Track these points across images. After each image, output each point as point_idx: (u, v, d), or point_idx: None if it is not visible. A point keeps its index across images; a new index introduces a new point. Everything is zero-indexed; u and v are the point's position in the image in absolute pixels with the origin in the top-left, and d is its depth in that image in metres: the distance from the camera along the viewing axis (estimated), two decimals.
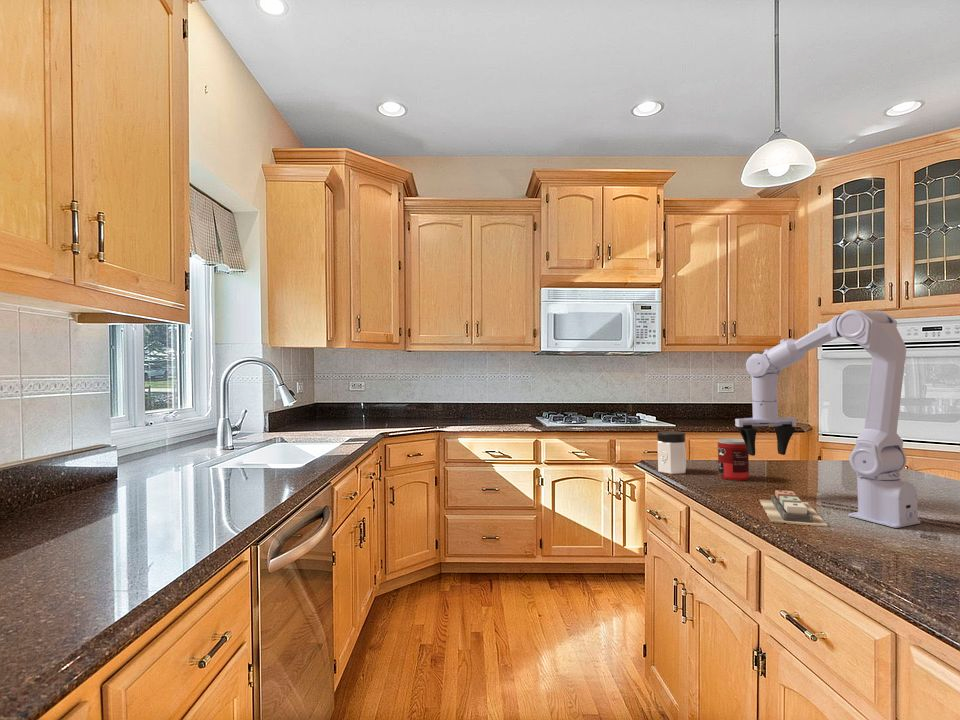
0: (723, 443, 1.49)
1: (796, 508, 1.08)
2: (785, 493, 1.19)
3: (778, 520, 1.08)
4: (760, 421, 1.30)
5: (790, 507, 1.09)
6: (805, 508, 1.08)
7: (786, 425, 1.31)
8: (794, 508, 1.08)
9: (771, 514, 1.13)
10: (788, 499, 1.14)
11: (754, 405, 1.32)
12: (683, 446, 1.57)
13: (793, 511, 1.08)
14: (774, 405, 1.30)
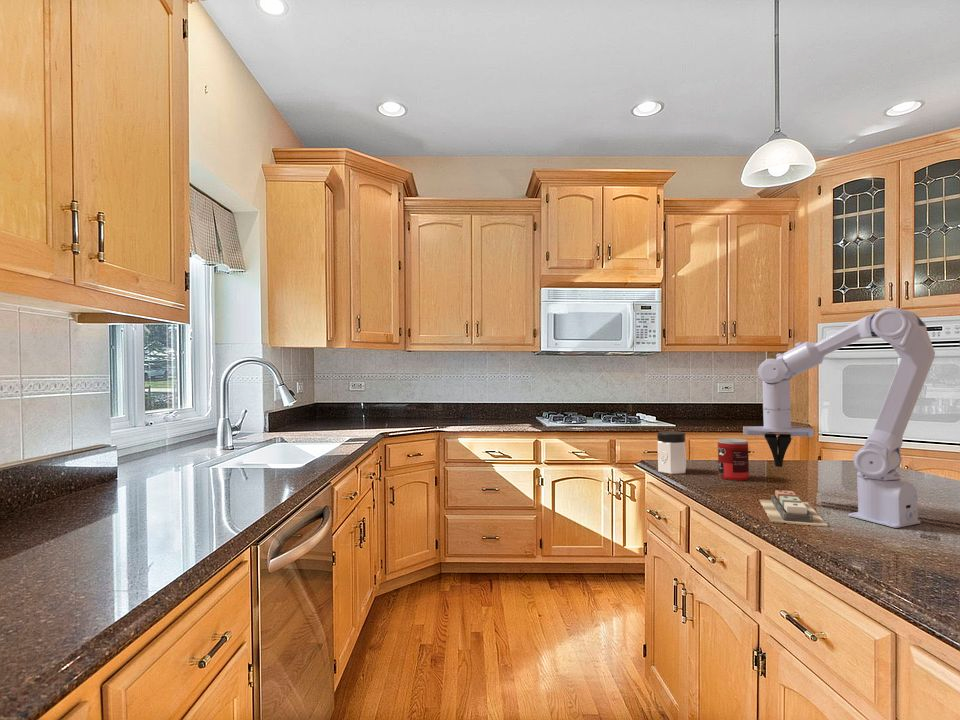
0: (723, 443, 1.49)
1: (796, 508, 1.08)
2: (785, 493, 1.19)
3: (778, 520, 1.08)
4: (766, 430, 1.23)
5: (790, 507, 1.09)
6: (805, 508, 1.08)
7: None
8: (794, 508, 1.08)
9: (771, 514, 1.13)
10: (788, 499, 1.14)
11: (763, 413, 1.25)
12: (683, 446, 1.57)
13: (793, 511, 1.08)
14: (782, 414, 1.21)
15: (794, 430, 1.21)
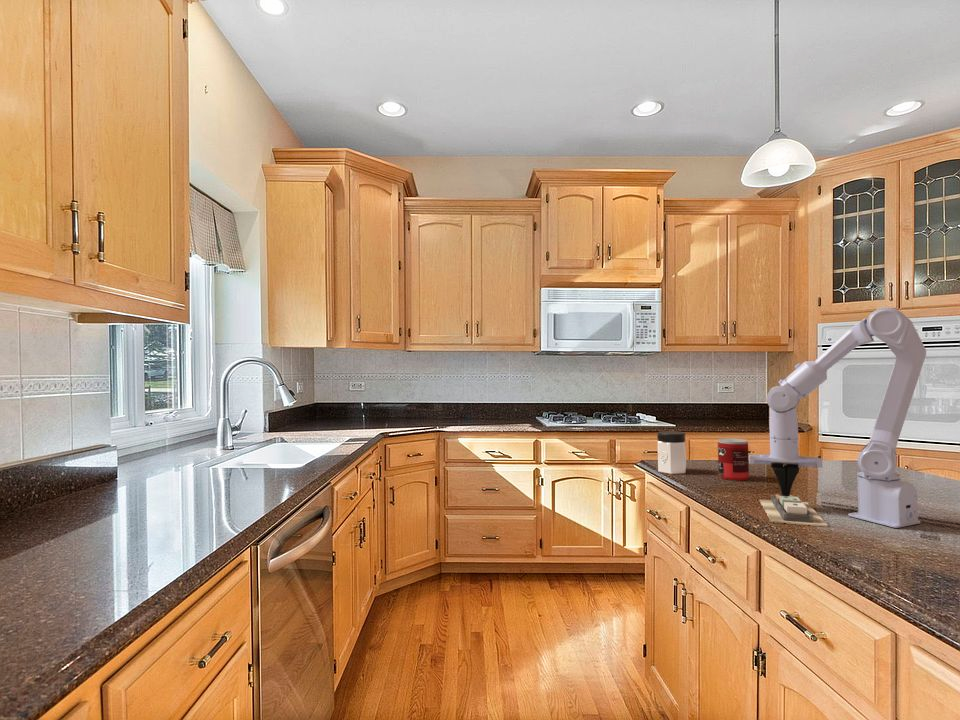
0: (723, 443, 1.49)
1: (796, 508, 1.08)
2: None
3: (778, 520, 1.08)
4: (773, 460, 1.19)
5: (790, 507, 1.09)
6: (805, 508, 1.08)
7: None
8: (794, 508, 1.08)
9: (771, 514, 1.13)
10: (788, 499, 1.14)
11: (770, 441, 1.21)
12: (683, 446, 1.57)
13: (793, 511, 1.08)
14: (790, 443, 1.17)
15: (802, 460, 1.17)
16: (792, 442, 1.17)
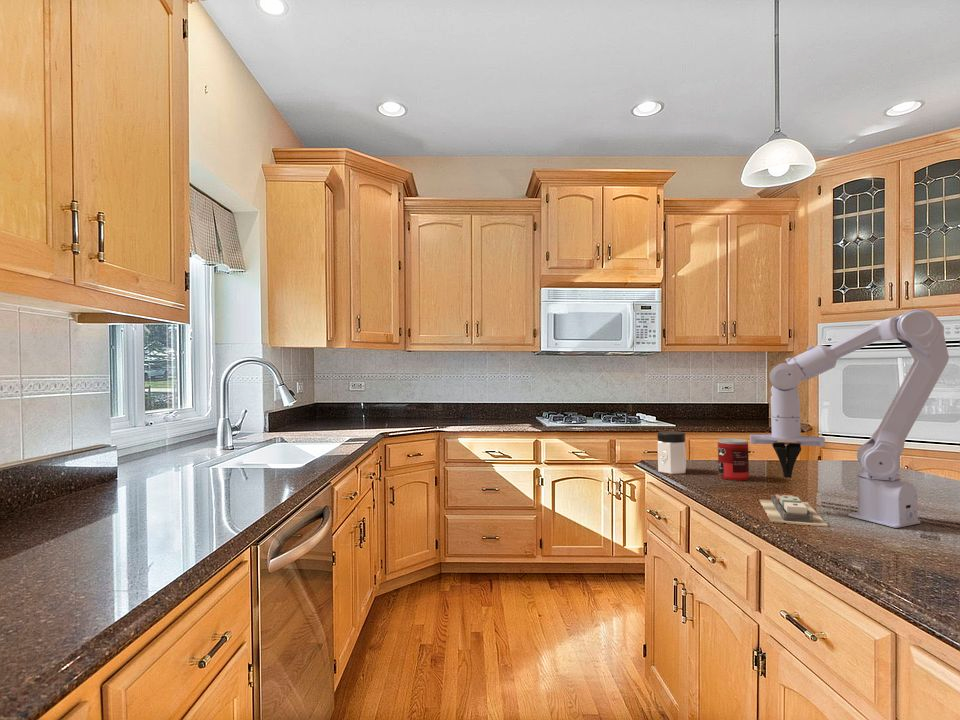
0: (723, 443, 1.49)
1: (796, 508, 1.08)
2: None
3: (778, 520, 1.08)
4: (774, 439, 1.17)
5: (790, 507, 1.09)
6: (805, 508, 1.08)
7: (811, 445, 1.15)
8: (794, 508, 1.08)
9: (771, 514, 1.13)
10: (788, 499, 1.14)
11: (771, 421, 1.19)
12: (683, 446, 1.57)
13: (793, 511, 1.08)
14: (791, 422, 1.15)
15: (804, 439, 1.14)
16: (794, 421, 1.15)
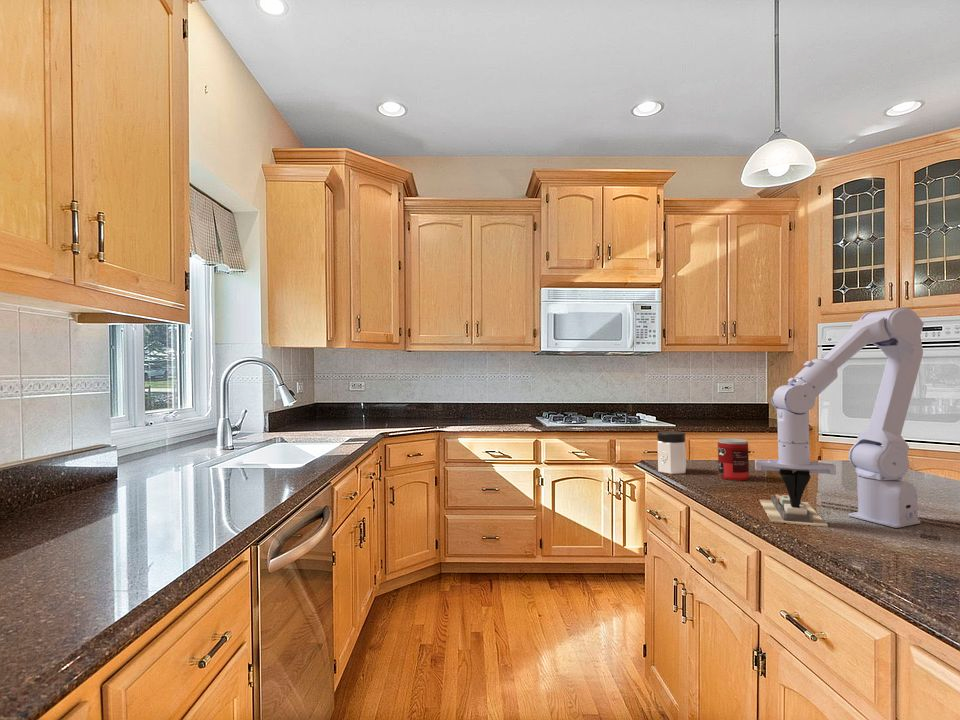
0: (723, 443, 1.49)
1: (796, 510, 1.08)
2: None
3: (778, 520, 1.08)
4: (781, 466, 1.09)
5: (790, 509, 1.09)
6: (805, 510, 1.08)
7: None
8: (794, 510, 1.08)
9: (771, 514, 1.13)
10: (788, 499, 1.14)
11: (778, 446, 1.11)
12: (683, 446, 1.57)
13: (793, 513, 1.08)
14: (800, 448, 1.07)
15: (814, 467, 1.07)
16: (803, 447, 1.07)
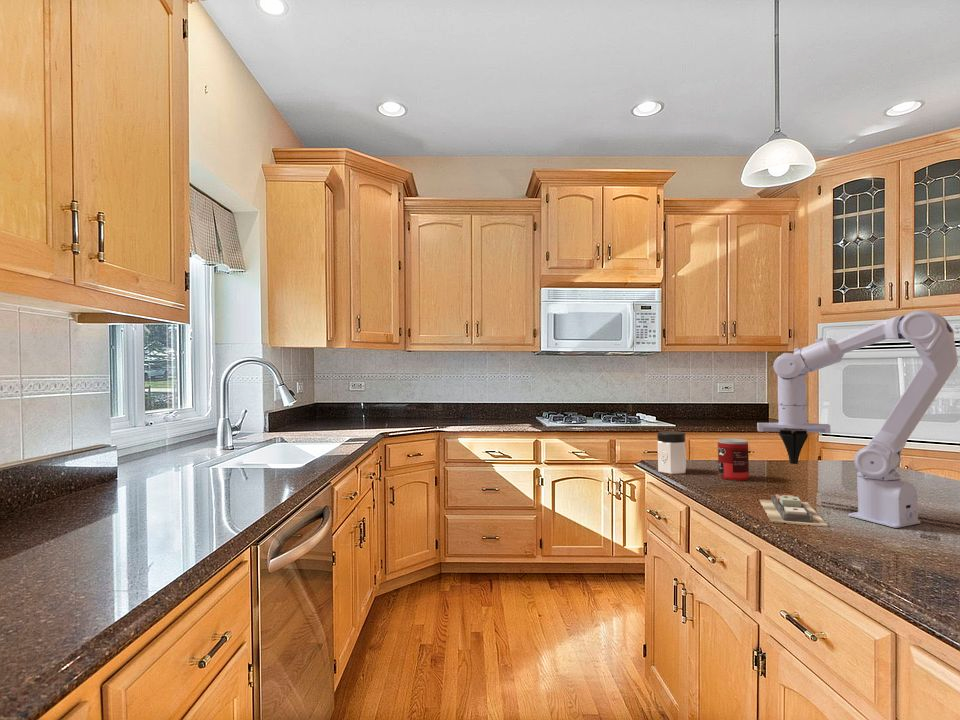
0: (723, 443, 1.49)
1: (796, 513, 1.08)
2: None
3: (778, 520, 1.08)
4: (781, 426, 1.20)
5: (790, 512, 1.08)
6: (805, 513, 1.08)
7: (817, 432, 1.18)
8: (794, 513, 1.08)
9: (771, 514, 1.13)
10: (788, 499, 1.14)
11: (778, 409, 1.22)
12: (683, 446, 1.57)
13: None
14: (798, 410, 1.18)
15: (810, 426, 1.18)
16: (801, 408, 1.18)
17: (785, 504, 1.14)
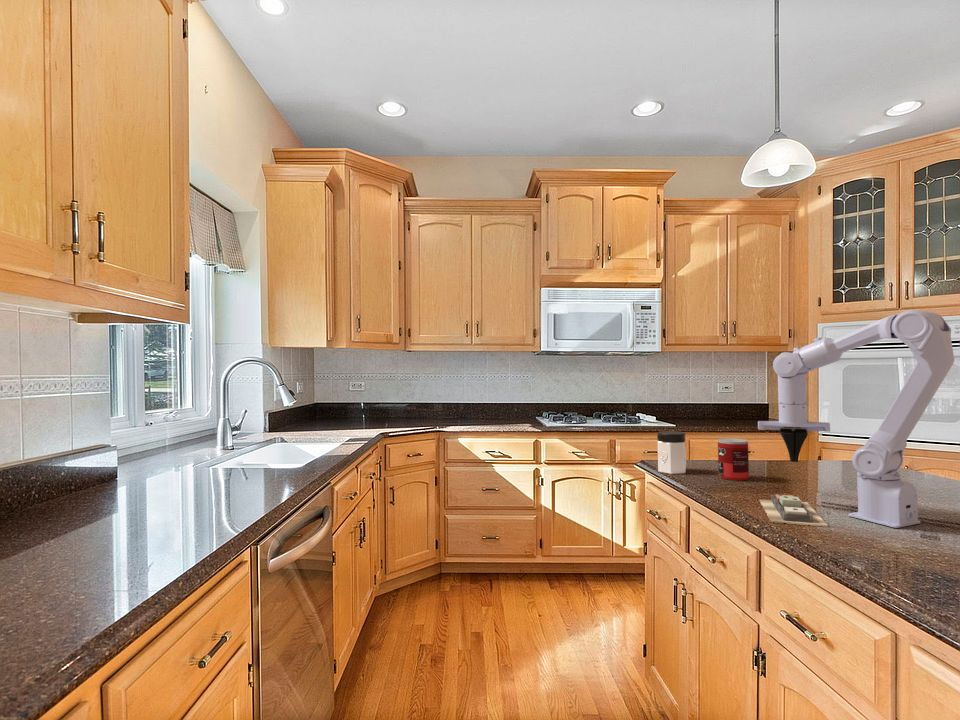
0: (723, 443, 1.49)
1: (796, 513, 1.08)
2: None
3: (778, 520, 1.08)
4: (781, 425, 1.21)
5: (790, 512, 1.08)
6: (805, 513, 1.08)
7: (817, 430, 1.20)
8: (794, 513, 1.08)
9: (771, 514, 1.13)
10: (788, 499, 1.14)
11: None
12: (683, 446, 1.57)
13: None
14: (798, 408, 1.20)
15: (810, 425, 1.19)
16: (801, 407, 1.20)
17: (785, 504, 1.14)
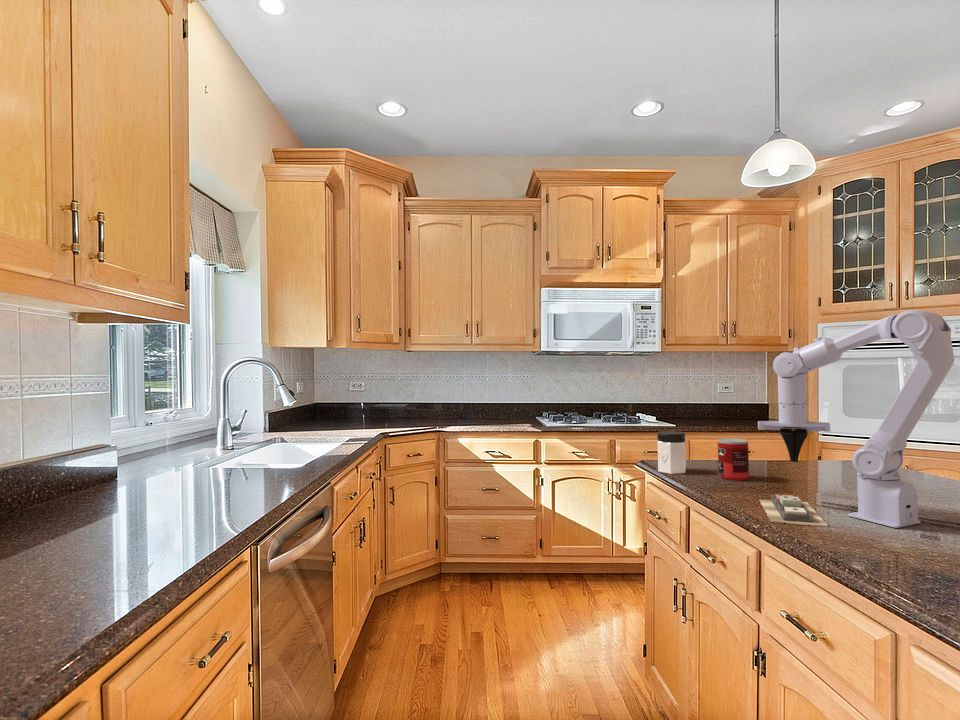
0: (723, 443, 1.49)
1: (796, 513, 1.08)
2: None
3: (778, 520, 1.08)
4: (781, 425, 1.21)
5: (790, 512, 1.08)
6: (805, 513, 1.08)
7: (817, 430, 1.20)
8: (794, 513, 1.08)
9: (771, 514, 1.13)
10: (788, 499, 1.14)
11: None
12: (683, 446, 1.57)
13: None
14: (798, 408, 1.20)
15: (810, 425, 1.19)
16: (801, 407, 1.20)
17: (785, 504, 1.14)
